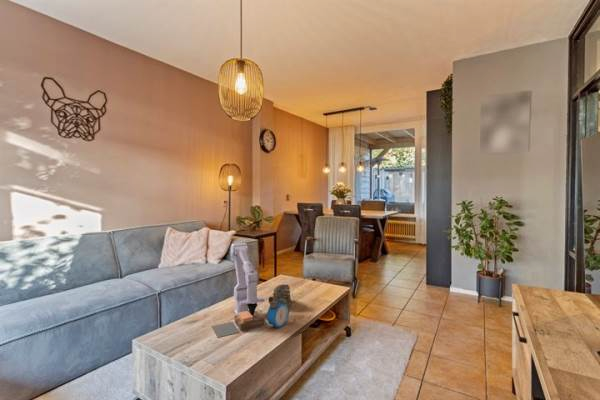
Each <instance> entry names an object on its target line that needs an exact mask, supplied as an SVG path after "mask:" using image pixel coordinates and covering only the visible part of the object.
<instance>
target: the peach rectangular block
mask: <svg viewBox="0 0 600 400" xmlns="http://www.w3.org/2000/svg"><path fill="white" fill-rule="evenodd" d="M248 311H249V310H248ZM248 311H244V312H240V313H238V317H239V318H240V320H241V321H242V322H247V321H251V320H253V316H252V315H251V314H250V313H249V312H250V311H249V312H248Z"/></svg>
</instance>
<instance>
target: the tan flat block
mask: <svg viewBox="0 0 600 400" xmlns="http://www.w3.org/2000/svg"><path fill="white" fill-rule="evenodd" d="M249 313H250V311H249ZM234 324H235V326H236V327H237V329H238V330H239V332H243V331H248V330H252V329H256V328H260V327H264V326H265V318H264V316H262V315H261V313H260V312H259V311H258V310H255V312H254V316H253V320H251V321H247V322H242V321H241V320H240V318H239V317H238V315H237V314H236V315H234Z"/></svg>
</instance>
